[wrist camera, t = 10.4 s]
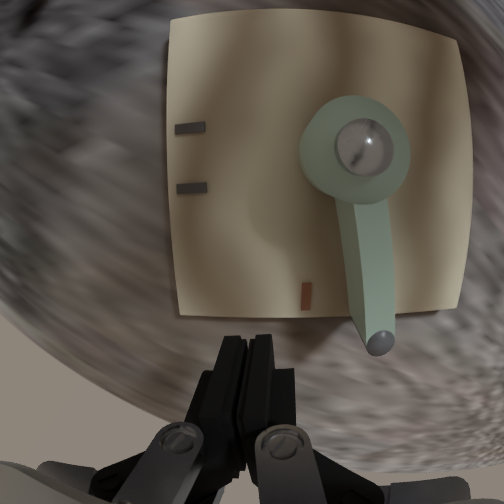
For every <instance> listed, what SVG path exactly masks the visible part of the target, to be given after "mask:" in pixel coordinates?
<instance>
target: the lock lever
mask: <svg viewBox="0 0 504 504" xmlns="http://www.w3.org/2000/svg"><path fill="white" fill-rule="evenodd" d="M410 157H411V156H410V144H409V140H408V136H407V134H406V131H405V129H404V127H403V125H402V123H401V122H400V121H399V119H398V118H397V117H396V115H395V114H394V113H393V112H392V111H391V110H390V109H388V108H387V107H386V106H384V105H383V104H382V103H380V102H378V101H376V100H374V99H371V98H368V97H364V96H357V95H348V96H342V97H339V98H336V99H333V100H331V101H329V102H328V103H326V104H325V105H323V106H322V107H321V108H320V109H319V110H318V111H317V113H316V114H315V115H314V117H313V118H312V120H311V121H310V123H309V124H308V126H307V127H306V129H305V130H304V132H303V134H302V136H301V138H300V141H299V145H298V160H299V164H300V168H301V170H302V172H303V174H304V176H305V177H306V179H307V180H308V181H309V182H310V183H311V185H312V186H314V187H315V188H316V189H317V190H319V191H321V192H323V193H325V194H327V195H330V196H332V197H335V203H336V209H337V215H338V221H339V228H340V234H341V242H342V249H343V256H344V264H345V273H346V282H347V292H348V302H349V313H350V316H351V318H352V320H353V322H354V324H355V326H356V328H357V330H358V332H359V334H360V337H361V339H362V341H363V343H364V345H365V347H366V349H367V352H368V353H369V354H370V355H372V356H381V355H384V354H386V353H387V352H389V351H390V350H391V348H392V347H393V345H394V342H395V281H394V262H393V248H392V236H391V226H390V217H389V209H388V201H387V198H388V197H390V196H391V195H392V194H393V193H395V192H396V191H397V189H398V188H399V187H400V186H401V184H402V183H403V181H404V180H405V178H406V175H407V173H408V170H409V165H410Z"/></svg>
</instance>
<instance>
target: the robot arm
mask: <svg viewBox="0 0 504 504" xmlns="http://www.w3.org/2000/svg"><path fill="white" fill-rule="evenodd" d="M246 463H247V465H248V469H249V473H250V476H251V480H252V482H253V483H254V484H255V485H256V486H257V487H258V490H259V499H260V504H504V502H503V501H500V500H496V499H483V498H482V499H471V496H470V488H469V485H468V483H467V482H466V481H465V480H464V479H463V478H460V477H457V476H456V477H445V478H438V479H430V480H422V481H412V482H402V483H401V482H400V483H391V484H390V486H377V485H376V484H375V483H373V482H371V481H369V480H367V479H365V478H363V477H361V476H359V475H358V474H356V473H354V472H352V471H350V470H348V469H347V468H345V467H343V466H341V465H339V464H338V463H336V462H334V461H332V460H331V459H329V458H327V457H326V456H324V455H322V454H321V453H319V452H317V451H316V450H314V449H312V445H311V442H310V438H309V436H308V435H307V433H306V432H305V431H304V430H303V429H301V428H299V427H297V426H296V403H295V377H294V368H289V369H275V363H274V353H273V342H272V335H271V334H262V335H256V337H255V339H250V343H249V348H248V346H247V341H246V339H241V336H224V339H223V342H222V345H221V348H220V351H219V354H218V357H217V360H216V363H215V366H214V369H213V371H210V370H205V371H203V373H202V375H201V377H200V380H199V383H198V385H197V388H196V391H195V393H194V396H193V399H192V401H191V404H190V407H189V410H188V412H187V415H186V418H185V420H184V422H175V423H171V424H169V425H167V426H165V427H163V428H162V429H161V430H160V431H159V432H158V433H157V434H156V436H155V437H154V439H153V440H152V442H151V444H150V445H149V446H148V448H147V450H146V451H144V452H142V453H139V454H137V455H135V456H132V457H130V458H127V459H125V460H123V461H120V462H118V463H115V464H112V465H110V466H107V467H105V468H103V469H101V470H99V471H96V470H95V468H91V467H84V466H77V465H71V464H65V463H60V462H55V461H46V462H43V463H42V464H40V465H39V466H38V468H37V469H36V470H35V469H32V468H30V467H27V466H24V465H21V464H17V463H13V462H7V461H0V504H219V503H220V500H221V498H222V495H223V493H224V488H225V485H227V484H229V483H230V482H232V478H239V472H240V471H245V469H246Z"/></svg>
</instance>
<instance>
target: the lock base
mask: <svg viewBox="0 0 504 504" xmlns="http://www.w3.org/2000/svg"><path fill="white" fill-rule="evenodd" d="M348 95H357V96H364V97H368V98H371V99H374V100H376V101H378V102H380V103H382V104H383V105H384V106H386V107H387V108H388V109H390V110H391V111H392V112H393V113H394V114H395V115H396V117H397V118H398V119H399V121H400V122H401V123H402V125H403V127H404V129H405V131H406V134H407V136H408V140H409V144H410V156H411V157H410V165H409V170H408V173H407V175H406V178H405V180H404V181H403V183H402V184H401V186H400V187H399V188H398V189H397V191H396V192H395V193H393V194H392V195H391V196H390V197H388V198H387V201H388V209H389V217H390V226H391V236H392V248H393V262H394V281H395V314H398V313H411V312H422V311H433V310H443V309H452V308H457V304H458V299H459V295H460V290H461V285H462V280H463V275H464V269H465V264H466V257H467V250H468V243H469V234H470V225H471V213H472V196H473V147H472V131H471V119H470V110H469V102H468V95H467V88H466V82H465V76H464V71H463V66H462V61H461V57H460V53H459V48H458V44H457V41H456V40H454V39H452V38H449V37H446V36H443V35H440V34H437V33H434V32H431V31H428V30H424V29H421V28H418V27H414V26H410V25H407V24H403V23H398V22H394V21H390V20H385V19H380V18H375V17H370V16H364V15H357V14H350V13H343V12H334V11H323V10H309V9H250V10H236V11H225V12H216V13H209V14H202V15H195V16H189V17H184V18H178V19H173V20H171V25H170V38H169V53H168V73H167V173H168V195H169V212H170V226H171V238H172V250H173V260H174V270H175V279H176V287H177V296H178V304H179V311H180V315H191V316H214V317H252V318H305V317H343V316H350V313H349V302H348V292H347V282H346V273H345V264H344V256H343V249H342V242H341V234H340V228H339V221H338V215H337V209H336V203H335V197H332V196H330V195H327V194H325V193H323V192H321V191H319V190H317V189H316V188H315V187H314V186H312V185H311V183H310V182H309V181H308V180H307V179H306V177H305V176H304V174H303V172H302V170H301V168H300V164H299V160H298V145H299V141H300V138H301V136H302V134H303V132H304V130H305V129H306V127H307V126H308V124H309V123H310V121H311V120H312V118H313V117H314V115H315V114H316V113H317V111H318V110H319V109H320V108H321V107H322V106H323V105H325V104H326V103H328V102H329V101H331V100H333V99H336V98H339V97H342V96H348Z"/></svg>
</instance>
